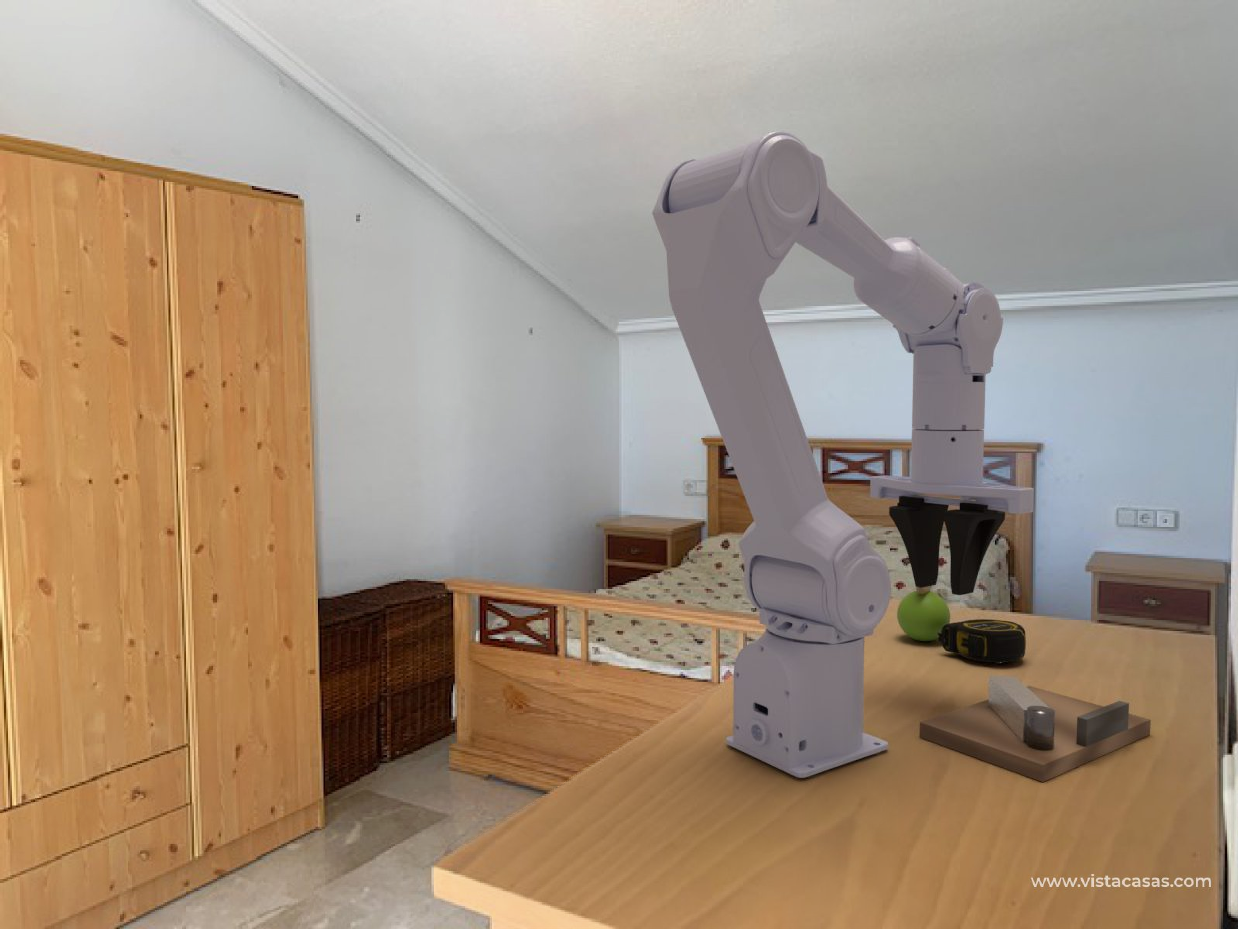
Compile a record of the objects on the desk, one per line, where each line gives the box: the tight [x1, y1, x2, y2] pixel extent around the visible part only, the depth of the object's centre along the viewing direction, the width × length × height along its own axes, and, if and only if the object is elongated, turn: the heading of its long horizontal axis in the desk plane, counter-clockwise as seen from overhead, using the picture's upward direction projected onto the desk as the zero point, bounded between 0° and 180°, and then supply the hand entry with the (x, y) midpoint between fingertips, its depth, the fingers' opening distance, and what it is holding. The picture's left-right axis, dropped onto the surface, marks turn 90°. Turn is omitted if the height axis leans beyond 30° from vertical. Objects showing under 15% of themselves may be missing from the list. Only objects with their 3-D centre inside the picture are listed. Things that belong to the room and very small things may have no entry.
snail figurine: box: [896, 586, 951, 642], centre depth 97 cm, size 5×6×12 cm
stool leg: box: [988, 675, 1055, 750], centre depth 68 cm, size 9×2×3 cm, turn 175°
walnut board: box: [919, 685, 1152, 783], centre depth 70 cm, size 15×10×3 cm, turn 125°
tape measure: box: [937, 618, 1027, 665], centre depth 90 cm, size 7×7×4 cm
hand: (943, 589), depth 77 cm, fingers open, 3 cm apart
